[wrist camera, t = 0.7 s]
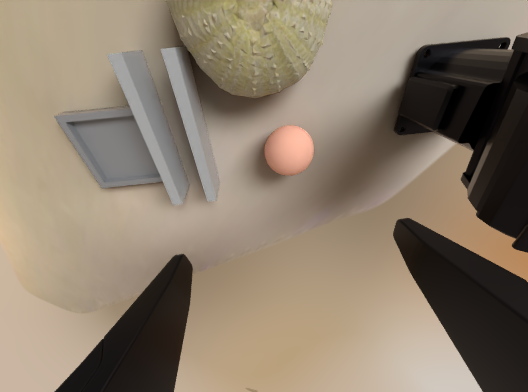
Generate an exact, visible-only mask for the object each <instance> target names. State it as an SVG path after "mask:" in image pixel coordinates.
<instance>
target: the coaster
mask: <svg viewBox="0 0 528 392" xmlns="http://www.w3.org/2000/svg"><path fill="white" fill-rule="evenodd" d="M54 117H55V118H56V120H57V122H58V123H59V125H60V126H61V128H62V129H63V131H64V132H65V134H66V135H67V137H68V138H69V140H70V141H71V143H72V144H73V146H74V147H75V149H76V150H77V152H78V153H79V155H80V156H81V158H82V159H83V161H84V162H85V164H86V165H87V167H88V168H89V170H90V171H91V173H92V174H93V176H94V177H95V179H96V180H97V182H98V183H99V185H100V186H101V188H109V187H118V186H127V185H137V184H146V183H156V182H163V181H162V179H161V176H160V174H159V172H158V169H157V167H156V165H155V163H154V160H153V158H152V156H151V153H150V151H149V149H148V147H147V144H146V142H145V140H144V138H143V135H142V133H141V131H140V128H139V126H138V124H137V122H136V119H135V117H134V115H133V113H132V110H131V108H130V106H121V107H111V108H101V109H91V110H81V111H72V112H63V113H60V114H58V115H56V116H54Z"/></svg>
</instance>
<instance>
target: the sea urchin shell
mask: <svg viewBox="0 0 528 392" xmlns="http://www.w3.org/2000/svg"><path fill="white" fill-rule="evenodd" d="M166 2H167V3H168V6H169V9H170V13H171V15H172V17H173V20H174V22H175V25H176V27H177V30H178V32H179V34H180V37H179V38H180V39H181V40H182V41H183V43H184V45H185V46H186V47H187V48H188V51H189V52H190V53H191V54H192V56H193V57H194V59H195V61H196V63H197V64H198V65H199V67H200V69H202V70H203V71H204V72H205V73H206V74H207V75H208V76H209V77H210V78H211V79H212V80H213V81H214V82H215V83H216V84H217V85H218V87H219V88H220V89H223V90H225V91H227V92H229V93H230V94H231V95H238V96H246V97H252V98H260V97H263V96H265V95H270V94H274V93H276V92H277V93H279V92H280V91H281V90H282V89H284V88H286V87H288V86H290V85H293V84H295V83H296V82H298V81H299V80H300V79H301V78H302V77H303V76H304V75H305V74H306V72H307V71H308V70H310V66H311V64H312V63H313V60H314V57H315V55H316V53H317V51H318V49H319V48H320V46H321V45H322V44H323V43H322V40H323V37H324V32H325V28H326V25H327V21H328V18H329V15H330V10H331V8H332V0H166Z"/></svg>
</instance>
